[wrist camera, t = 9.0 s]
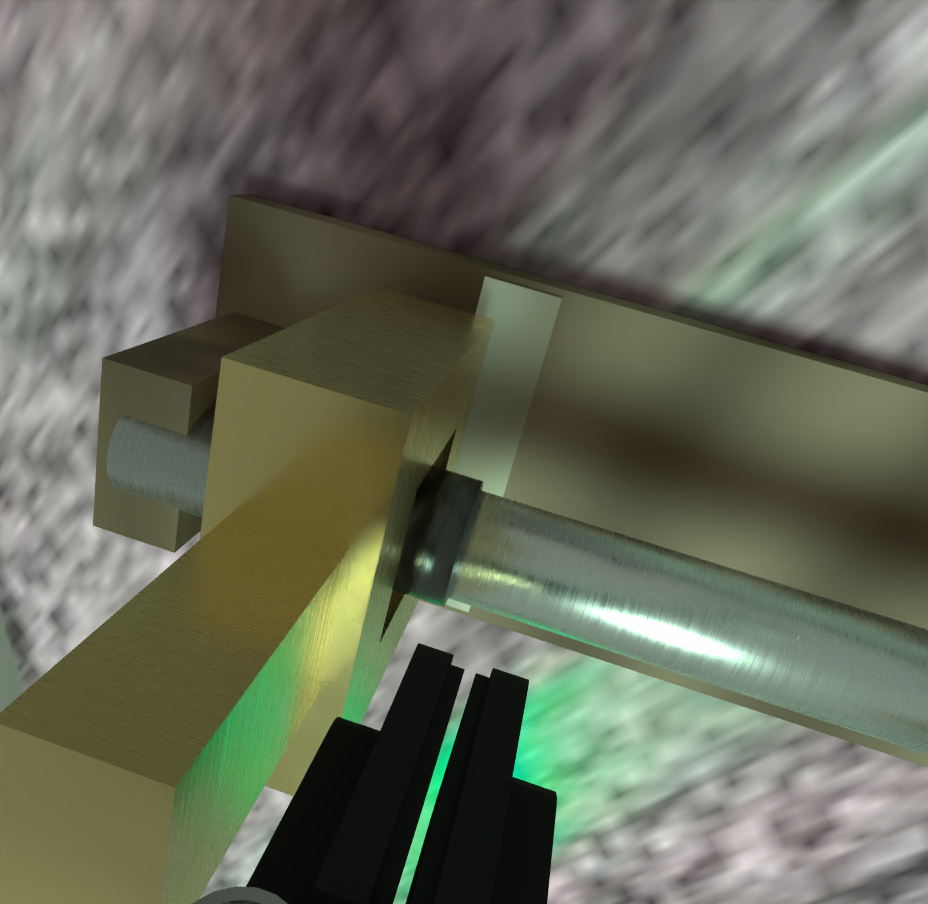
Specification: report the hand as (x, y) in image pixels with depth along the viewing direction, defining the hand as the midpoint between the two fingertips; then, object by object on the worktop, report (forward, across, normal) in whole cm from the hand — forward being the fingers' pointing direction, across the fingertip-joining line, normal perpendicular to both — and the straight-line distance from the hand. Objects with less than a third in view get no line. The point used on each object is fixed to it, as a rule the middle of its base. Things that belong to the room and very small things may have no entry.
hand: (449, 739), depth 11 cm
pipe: (+7, -3, 0) cm, 8 cm away
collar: (+9, +3, 0) cm, 10 cm away
